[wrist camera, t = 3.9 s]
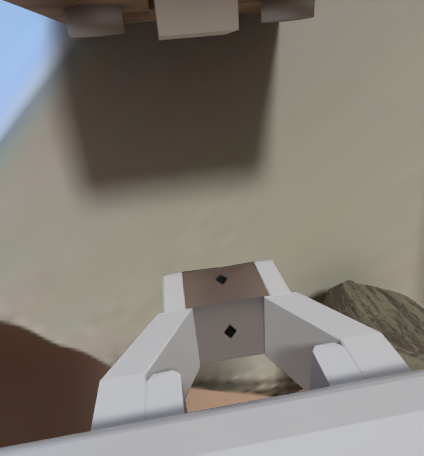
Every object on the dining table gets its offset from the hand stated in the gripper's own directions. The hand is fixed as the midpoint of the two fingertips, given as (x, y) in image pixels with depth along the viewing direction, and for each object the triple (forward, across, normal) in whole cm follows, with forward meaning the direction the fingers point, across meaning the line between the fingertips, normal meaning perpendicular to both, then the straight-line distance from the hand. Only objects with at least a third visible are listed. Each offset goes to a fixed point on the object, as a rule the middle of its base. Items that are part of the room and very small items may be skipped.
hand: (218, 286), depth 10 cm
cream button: (+22, -2, -9) cm, 24 cm away
